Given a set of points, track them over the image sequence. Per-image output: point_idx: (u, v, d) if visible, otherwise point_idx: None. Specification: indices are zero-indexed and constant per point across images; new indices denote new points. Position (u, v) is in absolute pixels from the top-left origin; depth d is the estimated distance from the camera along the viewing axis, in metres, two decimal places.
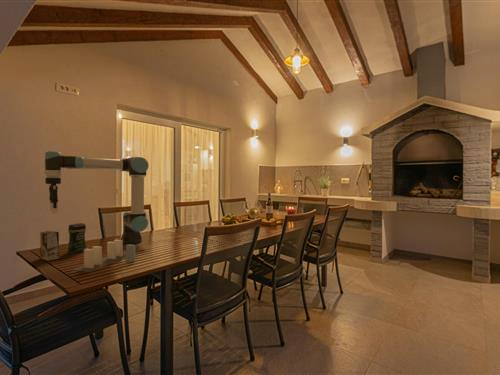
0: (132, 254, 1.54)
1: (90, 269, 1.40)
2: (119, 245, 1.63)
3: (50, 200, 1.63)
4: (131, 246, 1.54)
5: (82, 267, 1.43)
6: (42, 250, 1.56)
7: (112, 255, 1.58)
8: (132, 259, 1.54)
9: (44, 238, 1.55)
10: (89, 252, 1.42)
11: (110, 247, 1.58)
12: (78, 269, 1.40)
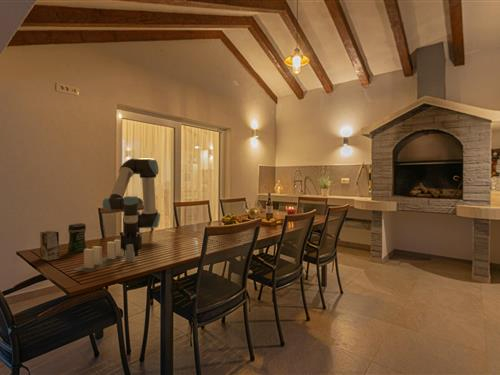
0: (132, 254, 1.54)
1: (90, 269, 1.40)
2: (119, 245, 1.63)
3: (124, 249, 1.55)
4: (131, 246, 1.54)
5: (82, 267, 1.43)
6: (42, 250, 1.56)
7: (112, 255, 1.58)
8: (132, 259, 1.54)
9: (44, 238, 1.55)
10: (89, 252, 1.42)
11: (110, 247, 1.58)
12: (78, 269, 1.40)
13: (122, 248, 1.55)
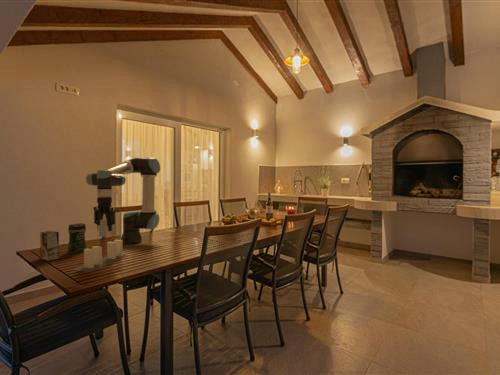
0: (105, 228, 1.52)
1: (90, 269, 1.40)
2: (119, 245, 1.63)
3: (98, 224, 1.53)
4: (104, 221, 1.52)
5: (82, 267, 1.43)
6: (42, 250, 1.56)
7: (112, 255, 1.58)
8: None
9: (44, 238, 1.55)
10: (89, 252, 1.42)
11: (110, 247, 1.58)
12: (78, 269, 1.40)
13: (96, 223, 1.53)
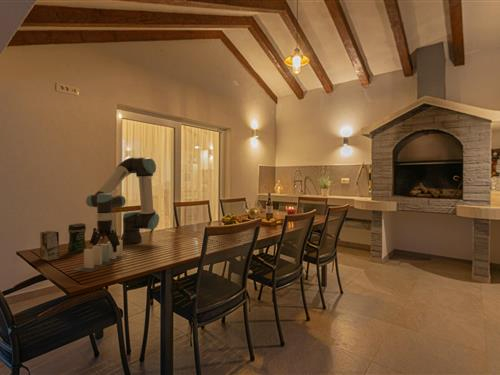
0: (105, 253, 1.52)
1: (90, 269, 1.40)
2: (119, 245, 1.63)
3: (94, 244, 1.54)
4: (105, 245, 1.52)
5: (82, 267, 1.43)
6: (42, 250, 1.56)
7: None
8: (106, 259, 1.53)
9: (44, 238, 1.55)
10: (89, 252, 1.42)
11: (110, 247, 1.58)
12: (78, 269, 1.40)
13: (91, 243, 1.55)
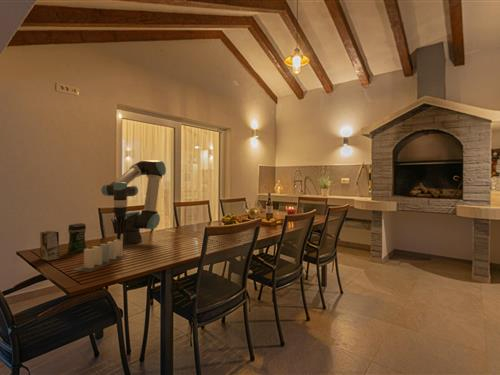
0: (105, 253, 1.52)
1: (90, 269, 1.40)
2: (119, 245, 1.63)
3: None
4: (105, 245, 1.52)
5: (82, 267, 1.43)
6: (42, 250, 1.56)
7: (112, 255, 1.58)
8: (106, 259, 1.53)
9: (44, 238, 1.55)
10: (89, 252, 1.42)
11: (110, 247, 1.58)
12: (78, 269, 1.40)
13: None
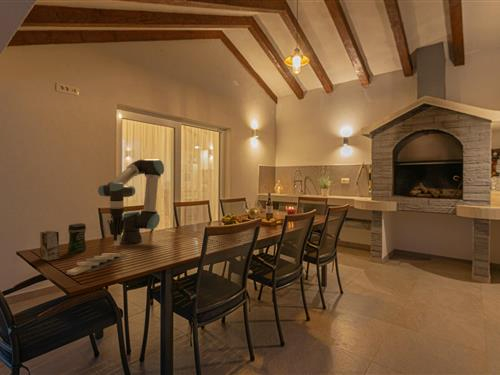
0: None
1: (90, 269, 1.40)
2: (110, 256, 1.56)
3: None
4: None
5: None
6: (42, 250, 1.56)
7: None
8: None
9: (44, 238, 1.55)
10: None
11: None
12: None
13: None
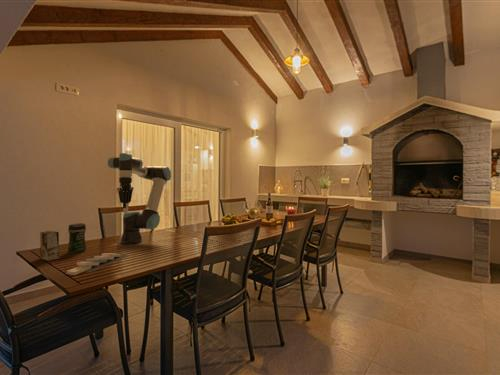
0: None
1: (90, 269, 1.40)
2: (110, 256, 1.56)
3: None
4: None
5: None
6: (42, 250, 1.56)
7: None
8: None
9: (44, 238, 1.55)
10: None
11: None
12: None
13: None
